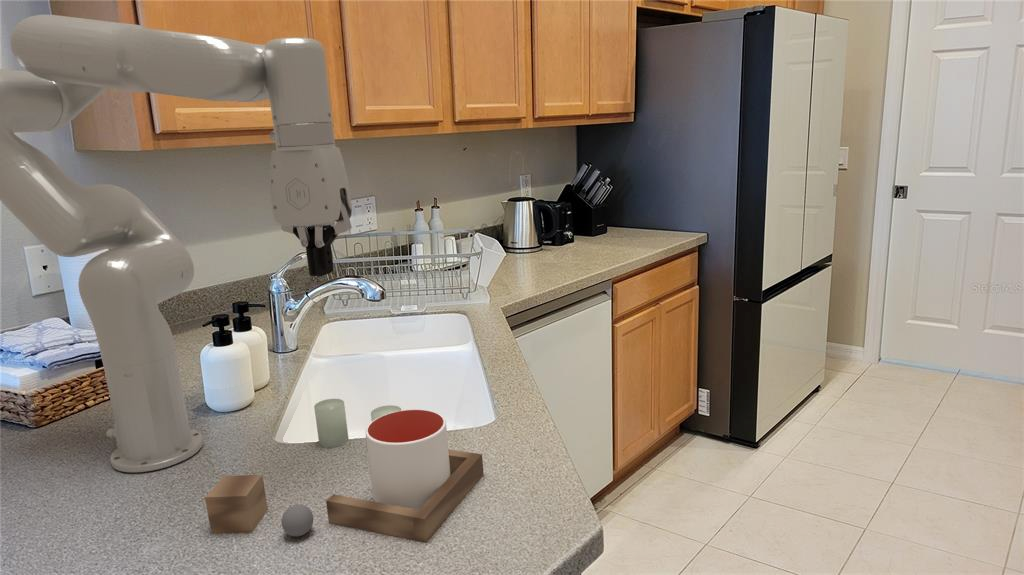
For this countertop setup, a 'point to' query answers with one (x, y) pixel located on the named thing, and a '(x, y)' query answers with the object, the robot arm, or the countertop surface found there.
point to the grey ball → (297, 520)
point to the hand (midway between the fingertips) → (321, 273)
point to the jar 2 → (383, 411)
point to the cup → (407, 457)
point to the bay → (409, 520)
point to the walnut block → (236, 504)
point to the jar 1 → (331, 423)
